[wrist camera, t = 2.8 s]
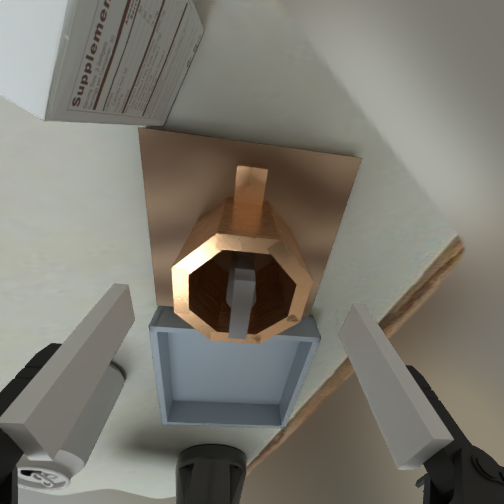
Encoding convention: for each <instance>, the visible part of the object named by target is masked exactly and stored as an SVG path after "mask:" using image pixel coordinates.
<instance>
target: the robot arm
mask: <svg viewBox="0 0 504 504" xmlns="http://www.w3.org/2000/svg"><path fill="white" fill-rule="evenodd" d="M134 321H135V317H134V312H133V307H132V301H131V296H130V291H129V285H127V284H115V283H114V284H113V285H112V287H111V288H110V289H109V290H108V291H107V292H106V294H105V295H104V296H103V297H102V298H101V299H100V301H99V302H98V303H97V304H96V305H95V306H94V308H93V309H92V310H91V311H90V312H89V314H88V315H87V316H86V317H85V318H84V319H83V321H82V322H81V323H80V324H79V325H78V326H77V328H76V329H75V330H74V331H73V332H72V333H71V335H70V336H69V337H68V338H67V339H66V341H65V342H64V343H63V344H56V343H51V344H50V345H48V346H47V347H45V348H44V349H42V350H41V351H40V352H38V353H37V354H36V355H35V356H34V357H33V358H32V359H31V360H30V361H29V362H28V363H27V364H26V365H25V368H23V369H22V370H21V371H20V372H19V373H18V374H17V375H16V376H15V379H12V380H11V382H10V383H9V384H8V385H7V386H6V387H5V388H4V389H3V390H2V391H1V392H0V504H18V469H17V466H16V464H17V463H18V461H19V460H20V458H21V457H22V455H23V454H25V455H26V457H27V458H28V459H29V460H38V461H53V460H54V458H55V456H56V454H57V453H58V451H59V449H60V448H61V446H62V444H63V442H64V441H65V439H66V437H67V436H68V434H69V432H70V430H71V429H72V427H73V425H74V424H75V422H76V420H77V418H78V417H79V415H80V413H81V412H82V410H83V408H84V406H85V405H86V403H87V401H88V400H89V398H90V396H91V394H92V393H93V391H94V389H95V388H96V386H97V384H98V382H99V381H100V379H101V377H102V376H103V374H104V372H105V370H106V369H107V367H108V365H109V364H110V362H111V360H112V358H113V357H114V355H115V353H116V352H117V350H118V348H119V346H120V345H121V343H122V341H123V340H124V338H125V336H126V334H127V333H128V331H129V329H130V328H131V326H132V324H133V322H134ZM339 337H340V339H341V342H342V344H343V346H344V348H345V351H346V353H347V355H348V357H349V360H350V362H351V364H352V367H353V369H354V371H355V373H356V376H357V378H358V380H359V383H360V385H361V387H362V389H363V392H364V394H365V396H366V398H367V401H368V403H369V405H370V407H371V410H372V412H373V414H374V417H375V419H376V421H377V424H378V426H379V428H380V430H381V433H382V435H383V437H384V439H385V442H386V444H387V446H388V449H389V451H390V453H391V456H392V457H393V460H394V462H395V465H396V467H397V469H399V470H416V469H417V468H419V467H420V466H421V465H422V464H423V465H424V466H425V468H426V470H427V472H428V473H427V474H425V475H424V476H422V477H421V478H420V479H418V480H417V482H416V486H417V487H418V488H419V487H421V486H422V485H423V484H424V491H423V492H424V497H423V504H504V467H502V466H499V465H498V464H497V462H496V461H495V460H494V459H493V458H492V457H491V456H489V455H488V454H487V453H485V452H484V451H483V450H481V449H479V448H477V447H475V446H473V445H472V444H471V443H470V442H469V441H468V439H467V438H466V437H465V435H464V434H463V432H462V431H461V430H460V428H459V427H458V425H457V424H456V422H455V421H454V420H453V418H452V417H451V415H450V414H449V412H448V411H447V410H446V409H445V407H444V405H443V404H442V403H441V401H439V400H438V397H437V395H436V394H435V393H434V391H433V390H431V387H430V386H429V384H428V383H427V381H426V380H425V379H424V377H423V376H422V375H421V374H420V373H419V372H418V371H417V370H416V369H415V368H414V367H413V366H408V365H405V364H404V363H403V362H402V360H401V359H400V357H399V356H398V354H397V352H396V351H395V349H394V348H393V346H392V345H391V343H390V342H389V340H388V339H387V337H386V336H385V334H384V333H383V331H382V330H381V328H380V327H379V325H378V324H377V322H376V321H375V319H374V318H373V316H372V315H371V313H370V312H369V310H368V309H367V307H366V306H365V305H361V304H353V305H352V307H351V309H350V311H349V313H348V316H347V318H346V320H345V322H344V324H343V326H342V329H341V331H340V333H339ZM245 477H246V456H245V455H244V454H243V453H242V452H241V451H239V450H237V449H234V448H231V447H227V446H221V445H202V446H196V447H192V448H189V449H187V450H185V451H183V452H182V453H181V454H180V455H179V457H178V461H177V466H176V504H239V502H240V498H241V494H242V489H243V485H244V481H245Z"/></svg>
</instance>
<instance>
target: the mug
mask: <svg viewBox="0 0 504 504" xmlns="http://www.w3.org/2000/svg"><path fill="white" fill-rule="evenodd" d="M267 172H268V169H267V167H265V166H257V165H250V164H242V163H238V164H237V173H236V184H235V195H234V197H226V198H225V199H224V200H223V201H221V202H220V203H219V204H218V205H216V206H215V207H214V208H213V209H212V210H210V211H209V212H208V213H207V214H205V215H204V216H203V217H202V218H200V219H199V220H198V221H197V222H196V224H195V226H194V227H193V229H192V231H191V233H190V235H189V237H188V238H187V240H186V242H185V244H184V246H183V248H182V249H181V251H180V253H179V255H178V257H177V259H176V260H175V262H174V264H173V266H172V281H173V299H174V313H175V314H177V315H178V316H179V317H181V318H182V319H183V320H185V321H186V322H187V323H188V324H190V325H191V326H192V327H194V328H195V329H196V330H198V331H199V332H200V333H202V334H203V335H204V336H205V337H207V338H208V339H209V340H211V341H222V342H237V343H252V344H260V343H262V342H264V341H266V340H268V339H269V338H271V337H273V336H275V335H277V334H279V333H281V332H282V331H284V330H286V329H288V328H290V327H292V326H294V325H295V324H297V323H299V322H300V321H301V318H302V314H303V311H304V308H305V305H306V302H307V299H308V295H309V292H310V289H311V286H312V283H313V278H312V276H311V274H310V272H309V270H308V267H307V265H306V263H305V261H304V258H303V256H302V254H301V252H300V250H299V247H298V245H297V243H296V241H295V238H294V236H293V234H292V232H291V231H290V229H289V228H288V227H287V225H286V224H285V223H284V221H283V220H282V219H281V217H280V216H279V215H278V213H277V212H276V211H275V209H274V208H273V207H272V205H271V204H270V203H269V201H263V199H264V192H265V186H266V179H267ZM222 250H233V251H243V252H253V253H263V254H271V255H272V256H273V257H274V258H275V260H274V261H272V262H271V263H269V264H268V265H266V266H265V267H263V268H262V269H260V270H259V271H257V272H256V273H255V280H256V282H255V286H256V302H255V304H254V306H253V307H251V313H250V319H249V325H248V331H247V337H246V339H233V338H228V336H229V324H230V315H231V307H230V306H229V305H228V304H227V301H226V295H227V287H228V279H229V272H226V271H225V270H223V269H222V268H221V267H220V266H219V265H218V264H217V263H216V262H215V261H214V260H213V259H212V257H213V256H215V255H216V254H218V253H219V252H220V251H222Z"/></svg>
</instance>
